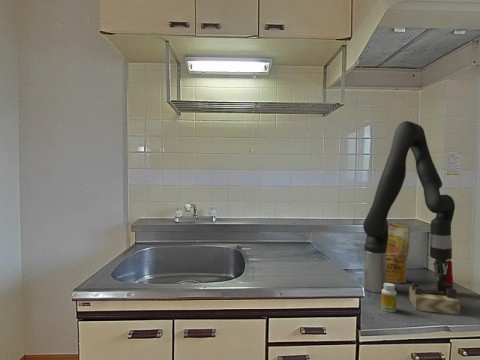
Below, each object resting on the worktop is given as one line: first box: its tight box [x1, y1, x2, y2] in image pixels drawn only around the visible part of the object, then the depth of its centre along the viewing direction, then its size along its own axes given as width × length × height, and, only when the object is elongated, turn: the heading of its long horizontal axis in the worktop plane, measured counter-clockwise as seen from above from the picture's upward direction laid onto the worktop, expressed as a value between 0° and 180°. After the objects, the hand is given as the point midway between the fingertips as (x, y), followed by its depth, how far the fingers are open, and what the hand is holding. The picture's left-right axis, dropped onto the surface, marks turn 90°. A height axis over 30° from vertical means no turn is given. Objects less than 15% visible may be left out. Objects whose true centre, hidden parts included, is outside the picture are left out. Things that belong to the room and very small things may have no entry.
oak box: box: [408, 282, 461, 315], centre depth 144 cm, size 15×14×8 cm
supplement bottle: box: [380, 282, 398, 313], centre depth 140 cm, size 5×5×10 cm
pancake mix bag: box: [386, 222, 411, 285], centre depth 175 cm, size 7×19×28 cm, turn 67°
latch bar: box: [414, 285, 449, 294], centre depth 144 cm, size 13×4×1 cm, turn 75°
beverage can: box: [445, 258, 454, 289], centre depth 158 cm, size 6×6×15 cm
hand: (440, 289), depth 142 cm, fingers closed
